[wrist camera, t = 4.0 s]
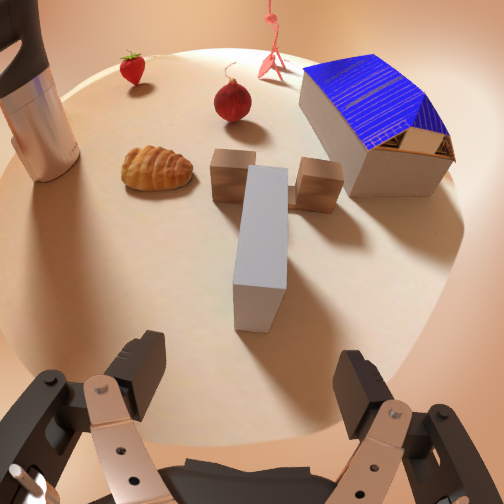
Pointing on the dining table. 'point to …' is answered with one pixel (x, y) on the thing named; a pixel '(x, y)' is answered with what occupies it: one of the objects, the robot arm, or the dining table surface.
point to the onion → (232, 101)
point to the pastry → (155, 169)
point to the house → (376, 127)
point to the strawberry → (132, 68)
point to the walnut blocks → (299, 196)
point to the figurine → (271, 58)
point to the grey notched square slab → (261, 249)
